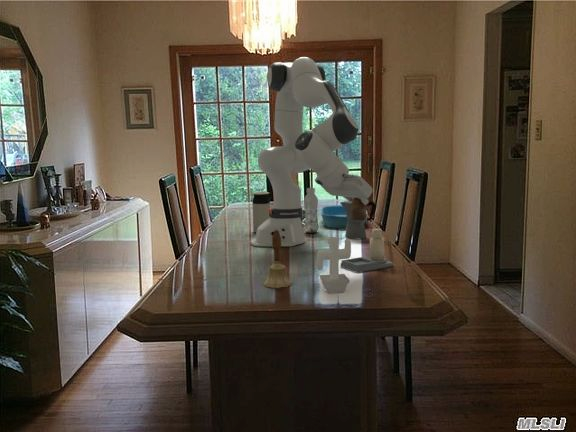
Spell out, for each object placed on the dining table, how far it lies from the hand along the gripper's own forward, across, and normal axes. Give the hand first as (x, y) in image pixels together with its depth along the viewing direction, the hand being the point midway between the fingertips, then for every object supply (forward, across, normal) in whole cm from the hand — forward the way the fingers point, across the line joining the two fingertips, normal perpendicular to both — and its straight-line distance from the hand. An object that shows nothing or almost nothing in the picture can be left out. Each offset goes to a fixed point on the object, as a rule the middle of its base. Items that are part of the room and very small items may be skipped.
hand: (360, 202), depth 167 cm
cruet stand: (+15, -2, +14) cm, 21 cm away
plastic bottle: (+27, +61, 0) cm, 67 cm away
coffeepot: (+35, +40, -6) cm, 53 cm away
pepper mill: (+3, 0, +4) cm, 5 cm away
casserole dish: (+46, +74, -19) cm, 89 cm away
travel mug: (+15, +78, +11) cm, 80 cm away
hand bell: (-9, -4, +39) cm, 40 cm away
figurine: (-2, -19, +32) cm, 37 cm away
